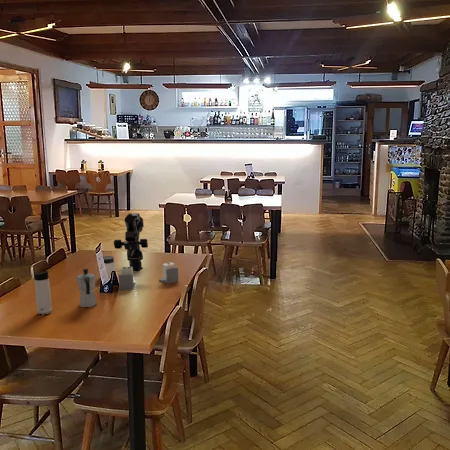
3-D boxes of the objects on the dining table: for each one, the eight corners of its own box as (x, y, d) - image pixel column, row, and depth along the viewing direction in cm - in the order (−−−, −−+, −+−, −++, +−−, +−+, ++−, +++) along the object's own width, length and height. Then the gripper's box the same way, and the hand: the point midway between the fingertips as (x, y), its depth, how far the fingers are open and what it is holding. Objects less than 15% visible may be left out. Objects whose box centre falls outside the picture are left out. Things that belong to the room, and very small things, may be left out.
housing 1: (121, 284, 261) (121, 270, 259) (135, 284, 261) (134, 270, 260) (119, 289, 253) (118, 275, 251) (133, 289, 253) (132, 274, 251)
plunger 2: (163, 279, 265) (162, 263, 263) (171, 277, 268) (170, 261, 267) (167, 281, 262) (166, 265, 260) (175, 278, 266) (174, 263, 264)
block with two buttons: (123, 282, 260) (122, 266, 259) (133, 282, 261) (132, 266, 259) (122, 284, 256) (121, 268, 255) (132, 284, 257) (131, 268, 255)
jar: (99, 276, 277) (97, 256, 274) (113, 274, 280) (112, 255, 277) (101, 280, 268) (100, 260, 266) (116, 278, 272) (114, 258, 269)
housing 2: (158, 280, 266) (158, 267, 265) (169, 278, 271) (168, 264, 270) (168, 284, 260) (167, 270, 259) (178, 281, 265) (177, 267, 264)
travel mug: (43, 316, 217) (39, 274, 213) (34, 313, 220) (30, 272, 217) (55, 312, 222) (51, 270, 218) (46, 309, 226) (42, 268, 222)
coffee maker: (77, 301, 235) (75, 266, 232) (96, 299, 238) (93, 264, 235) (80, 312, 222) (77, 274, 218) (99, 309, 225) (96, 272, 221)
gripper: (113, 225, 268) (111, 249, 260) (146, 224, 270) (145, 248, 261) (115, 236, 277) (114, 259, 269) (148, 235, 279) (147, 258, 270)
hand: (130, 256), depth 267 cm, fingers closed
